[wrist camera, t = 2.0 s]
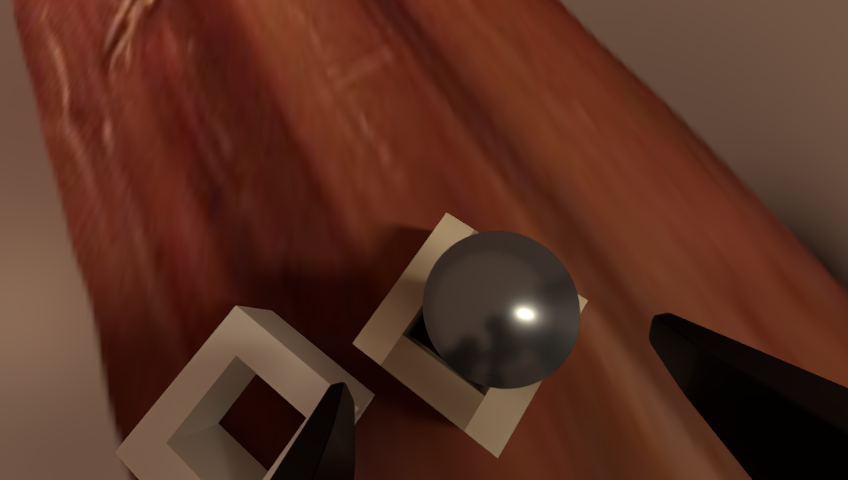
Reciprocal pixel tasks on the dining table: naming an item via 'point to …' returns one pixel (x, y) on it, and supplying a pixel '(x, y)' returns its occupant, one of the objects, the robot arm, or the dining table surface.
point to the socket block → (231, 400)
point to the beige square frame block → (427, 372)
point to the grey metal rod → (501, 309)
